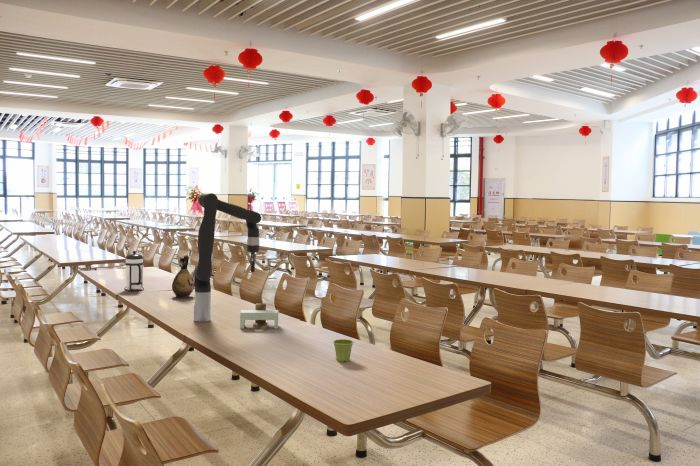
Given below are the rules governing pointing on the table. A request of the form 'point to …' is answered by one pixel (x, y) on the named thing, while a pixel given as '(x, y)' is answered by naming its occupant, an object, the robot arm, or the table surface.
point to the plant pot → (343, 349)
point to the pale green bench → (258, 316)
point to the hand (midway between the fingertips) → (252, 271)
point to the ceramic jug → (183, 280)
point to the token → (258, 330)
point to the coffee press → (134, 271)
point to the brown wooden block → (260, 323)
